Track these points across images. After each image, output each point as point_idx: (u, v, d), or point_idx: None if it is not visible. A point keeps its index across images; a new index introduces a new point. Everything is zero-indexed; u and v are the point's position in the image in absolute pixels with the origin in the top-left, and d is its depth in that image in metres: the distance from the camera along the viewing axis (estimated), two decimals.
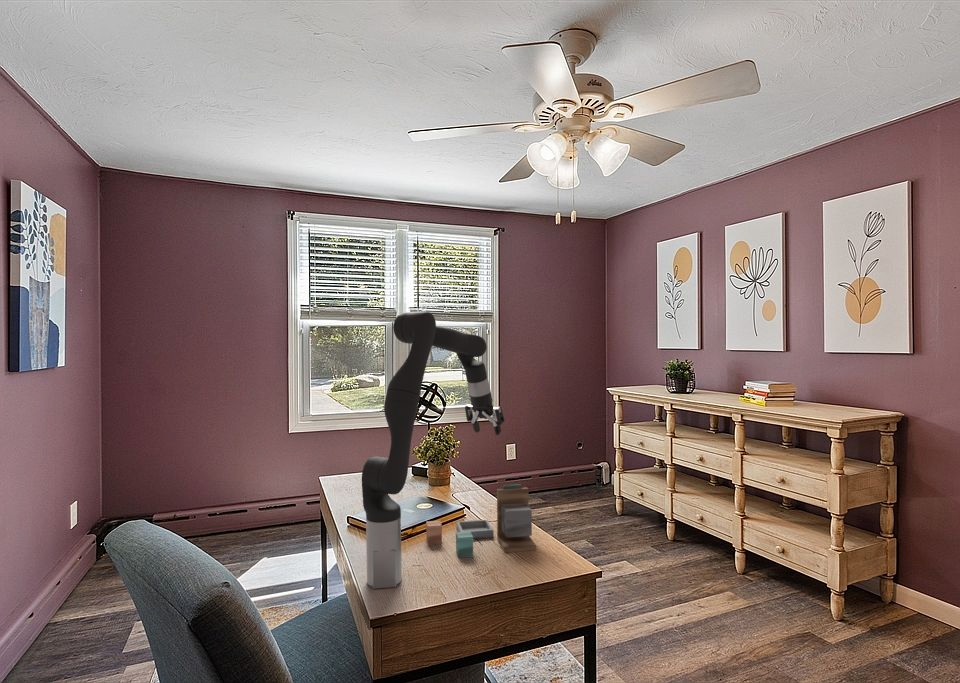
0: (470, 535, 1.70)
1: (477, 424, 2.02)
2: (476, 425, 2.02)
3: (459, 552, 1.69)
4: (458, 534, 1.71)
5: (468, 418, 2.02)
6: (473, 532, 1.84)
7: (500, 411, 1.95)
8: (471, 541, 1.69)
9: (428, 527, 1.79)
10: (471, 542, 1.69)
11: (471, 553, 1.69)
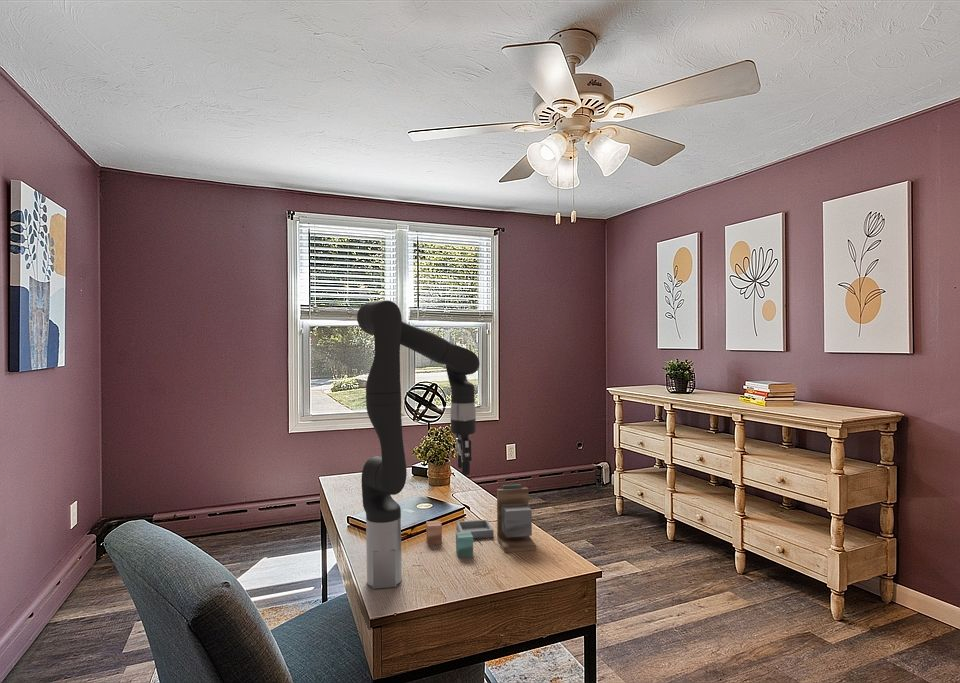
0: (470, 535, 1.70)
1: None
2: (460, 459, 1.75)
3: (459, 552, 1.69)
4: (458, 534, 1.71)
5: None
6: (473, 532, 1.84)
7: (467, 445, 1.64)
8: (471, 541, 1.69)
9: (428, 527, 1.79)
10: (471, 542, 1.69)
11: (471, 553, 1.69)
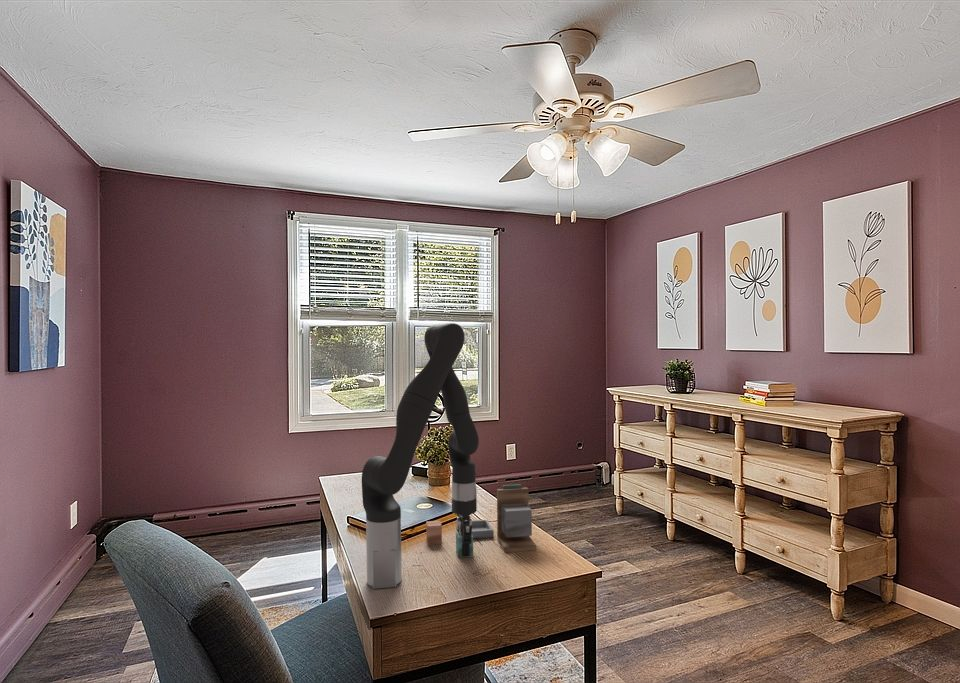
0: None
1: None
2: None
3: (459, 552, 1.69)
4: (458, 534, 1.71)
5: None
6: (473, 532, 1.84)
7: (468, 531, 1.65)
8: None
9: (428, 527, 1.79)
10: (471, 542, 1.69)
11: (471, 553, 1.69)
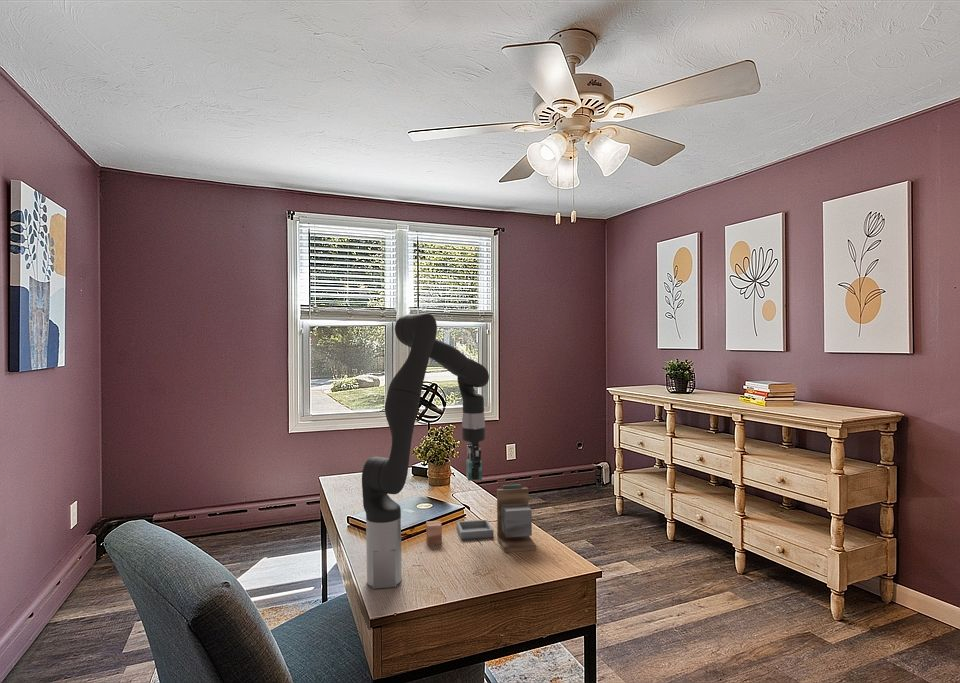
0: None
1: None
2: None
3: (469, 475, 1.86)
4: (468, 460, 1.89)
5: (468, 457, 1.93)
6: (473, 532, 1.84)
7: (477, 455, 1.82)
8: (480, 466, 1.87)
9: (428, 527, 1.79)
10: (480, 467, 1.87)
11: (480, 477, 1.87)
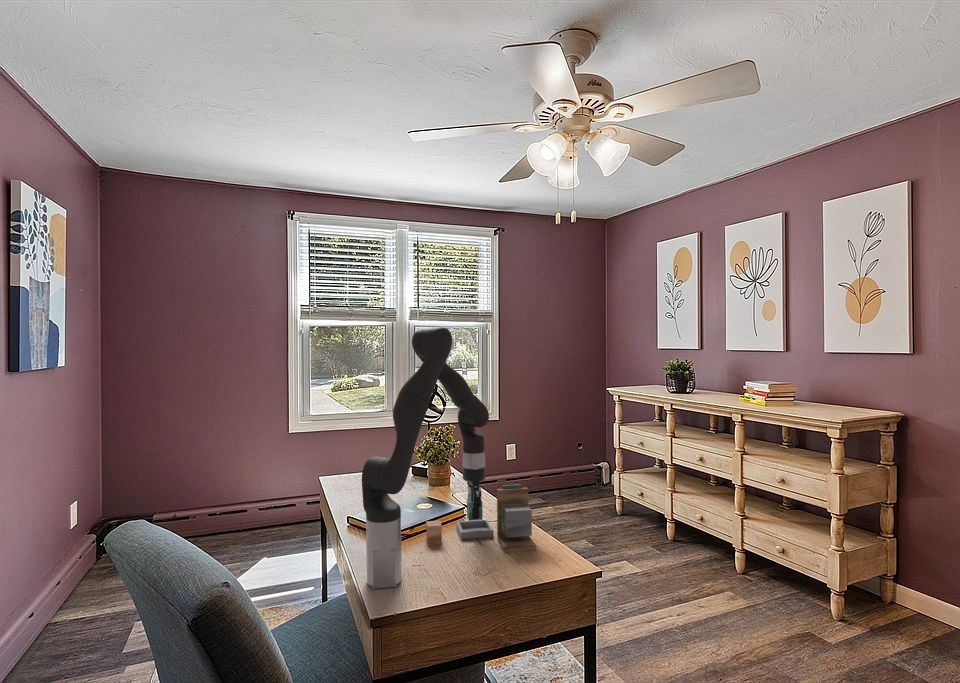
0: None
1: None
2: None
3: (470, 515, 1.87)
4: (469, 499, 1.89)
5: None
6: (473, 532, 1.84)
7: (478, 496, 1.83)
8: (481, 505, 1.87)
9: (428, 527, 1.79)
10: (481, 506, 1.87)
11: (481, 516, 1.87)
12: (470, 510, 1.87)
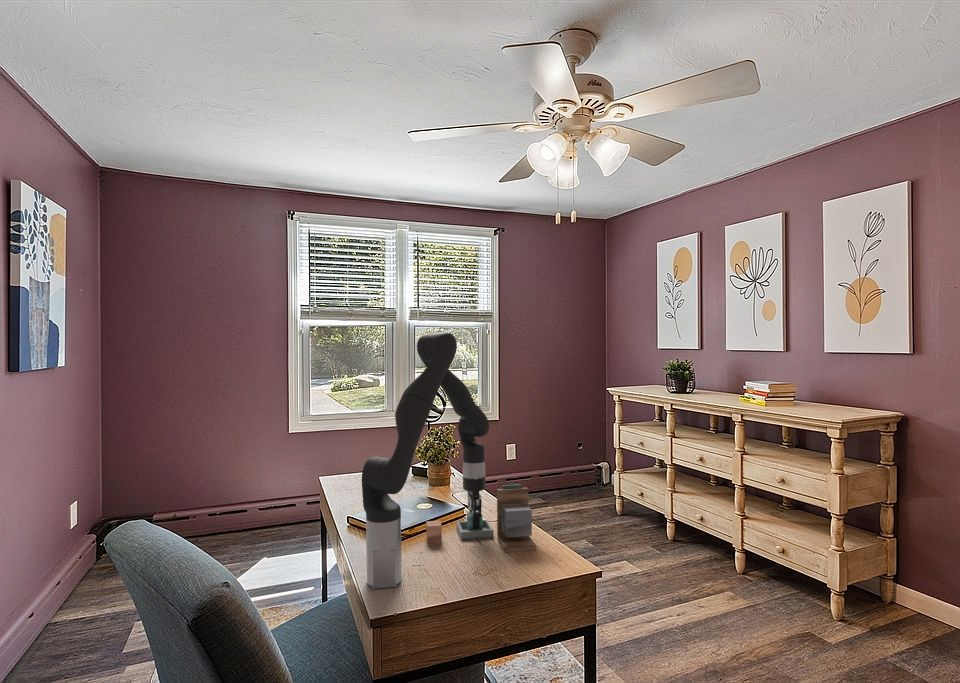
0: None
1: None
2: None
3: (470, 529, 1.86)
4: (469, 513, 1.89)
5: None
6: (473, 532, 1.84)
7: (478, 504, 1.82)
8: (481, 519, 1.87)
9: (428, 527, 1.79)
10: (481, 520, 1.87)
11: None
12: (470, 524, 1.86)
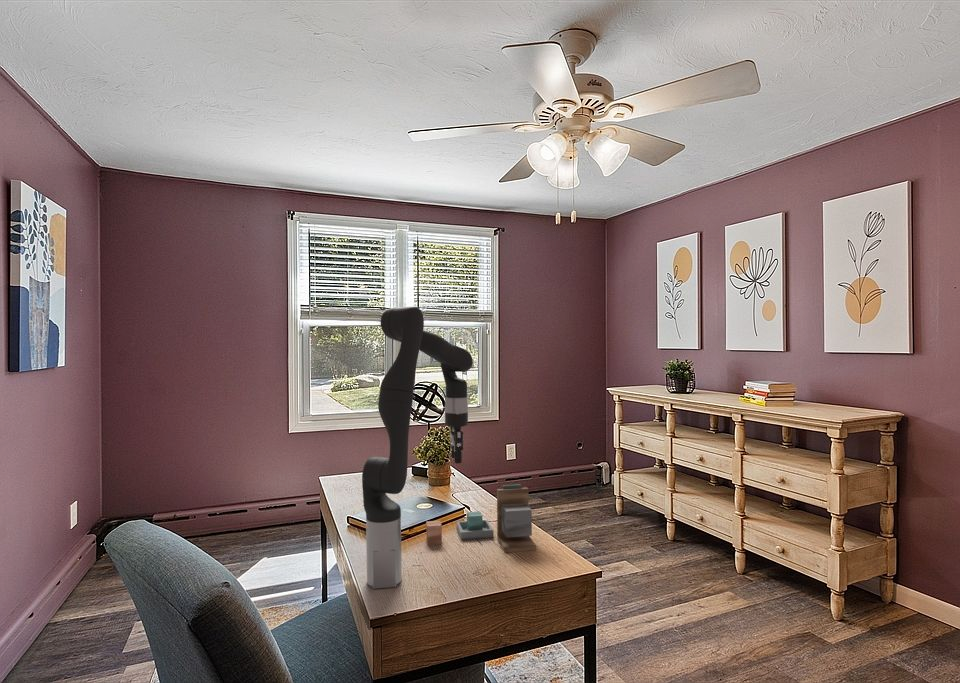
0: (480, 514, 1.88)
1: None
2: (453, 449, 1.91)
3: (470, 529, 1.86)
4: (469, 513, 1.89)
5: None
6: (473, 532, 1.84)
7: (459, 436, 1.80)
8: (481, 519, 1.87)
9: (428, 527, 1.79)
10: (481, 520, 1.87)
11: None
12: (470, 524, 1.86)
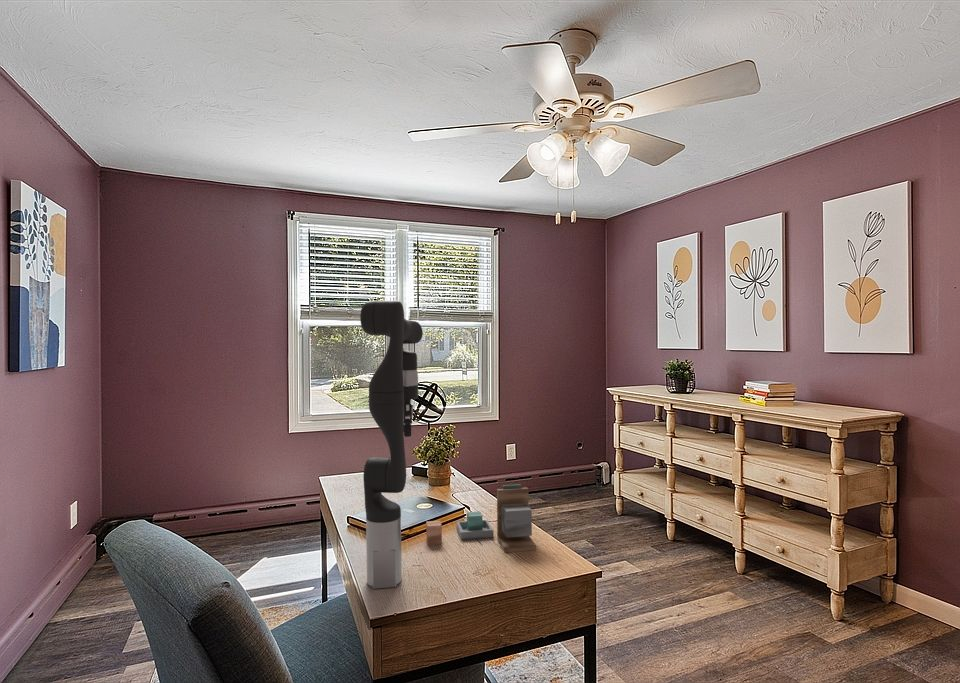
0: (480, 514, 1.88)
1: None
2: (404, 423, 1.87)
3: (470, 529, 1.86)
4: (469, 513, 1.89)
5: None
6: (473, 532, 1.84)
7: (408, 409, 1.77)
8: (481, 519, 1.87)
9: (428, 527, 1.79)
10: (481, 520, 1.87)
11: None
12: (470, 524, 1.86)
